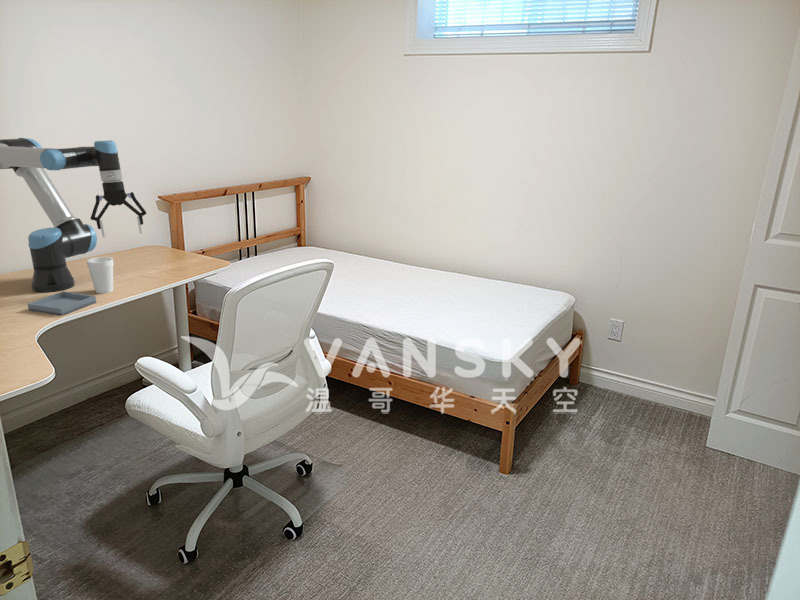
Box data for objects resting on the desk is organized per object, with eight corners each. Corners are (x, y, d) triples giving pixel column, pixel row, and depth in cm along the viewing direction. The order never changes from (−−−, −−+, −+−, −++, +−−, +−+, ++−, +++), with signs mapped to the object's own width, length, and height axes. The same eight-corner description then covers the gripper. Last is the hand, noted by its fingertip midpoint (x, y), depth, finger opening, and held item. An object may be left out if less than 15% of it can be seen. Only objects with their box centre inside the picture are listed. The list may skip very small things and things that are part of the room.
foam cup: (99, 287, 240) (94, 256, 236) (121, 287, 240) (117, 257, 235) (86, 294, 231) (81, 262, 227) (109, 294, 231) (105, 263, 226)
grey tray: (28, 310, 213) (27, 303, 212) (64, 297, 227) (63, 291, 226) (62, 315, 208) (61, 308, 207) (96, 302, 222) (95, 295, 221)
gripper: (75, 184, 220) (87, 240, 227) (146, 179, 229) (156, 232, 235) (77, 183, 227) (89, 237, 233) (146, 177, 236) (155, 229, 242)
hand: (122, 234), depth 234 cm, fingers open, 13 cm apart
